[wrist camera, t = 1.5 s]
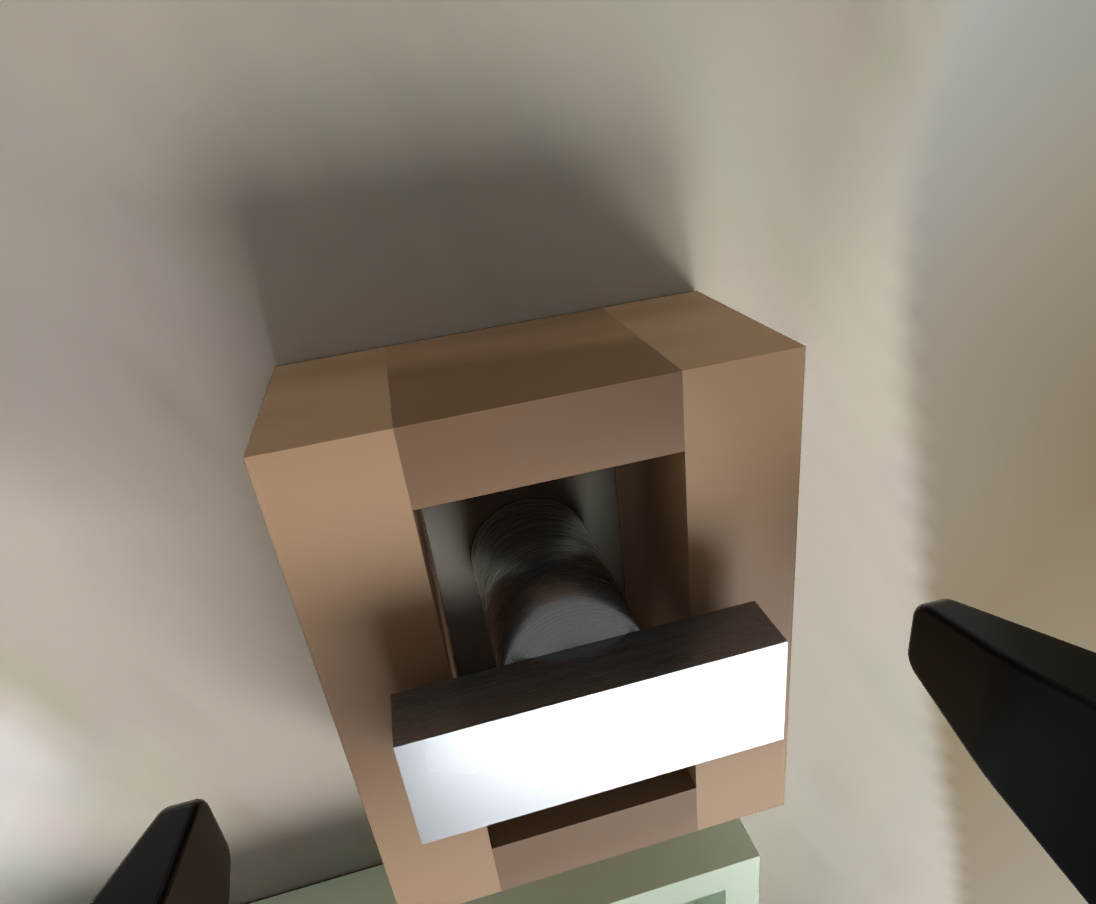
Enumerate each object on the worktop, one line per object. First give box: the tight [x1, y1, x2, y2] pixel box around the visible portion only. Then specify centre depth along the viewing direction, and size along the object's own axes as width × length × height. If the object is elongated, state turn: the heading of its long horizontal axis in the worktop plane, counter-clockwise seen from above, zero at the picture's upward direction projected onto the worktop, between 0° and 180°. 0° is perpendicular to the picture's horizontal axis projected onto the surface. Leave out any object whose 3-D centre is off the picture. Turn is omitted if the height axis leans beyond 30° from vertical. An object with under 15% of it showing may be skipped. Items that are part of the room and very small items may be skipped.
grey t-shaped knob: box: [391, 498, 788, 845], centre depth 10 cm, size 5×2×4 cm, turn 97°
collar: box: [243, 291, 806, 904], centre depth 11 cm, size 8×6×3 cm
